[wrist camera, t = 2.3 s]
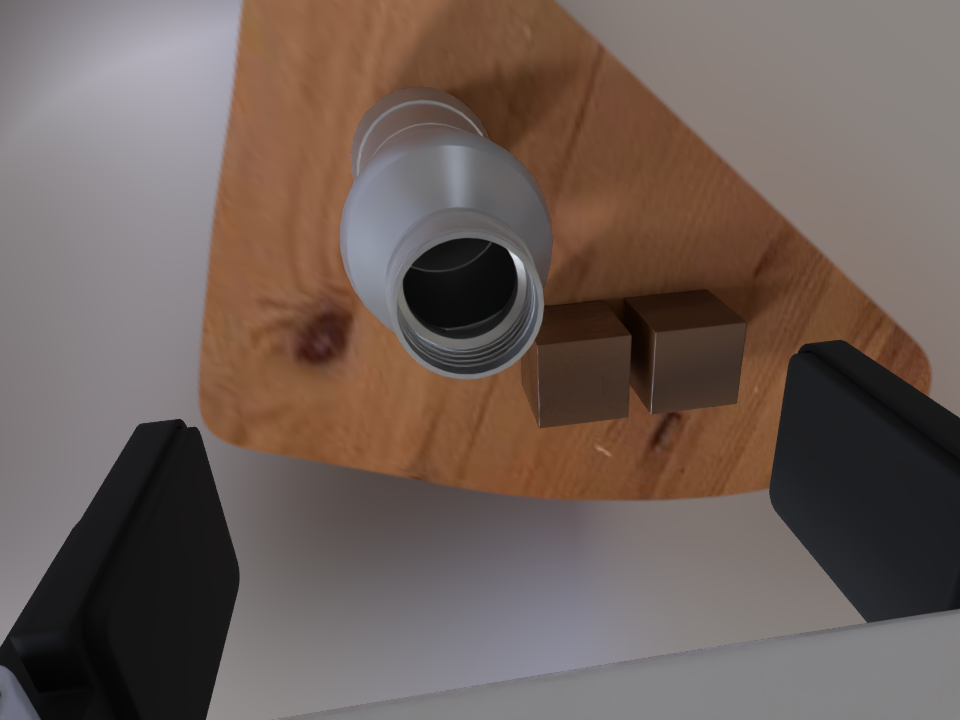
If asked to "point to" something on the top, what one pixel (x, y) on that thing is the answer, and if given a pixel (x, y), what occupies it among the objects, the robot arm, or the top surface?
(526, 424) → the top surface
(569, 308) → the walnut block
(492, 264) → the silver bottle
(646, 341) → the walnut block
